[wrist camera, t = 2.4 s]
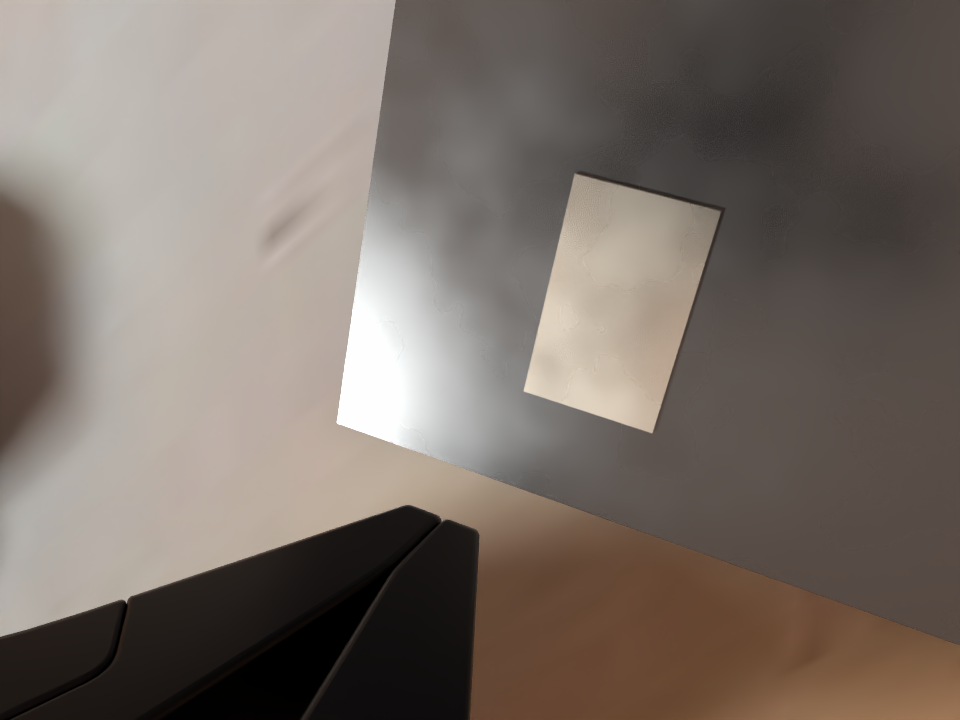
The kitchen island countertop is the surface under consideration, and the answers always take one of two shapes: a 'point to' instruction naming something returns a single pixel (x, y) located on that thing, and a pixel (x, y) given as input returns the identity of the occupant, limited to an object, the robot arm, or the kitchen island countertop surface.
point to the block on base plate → (682, 275)
